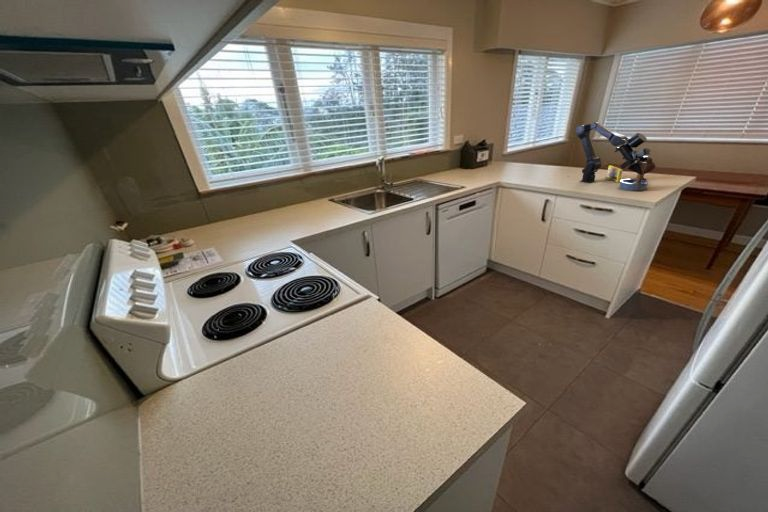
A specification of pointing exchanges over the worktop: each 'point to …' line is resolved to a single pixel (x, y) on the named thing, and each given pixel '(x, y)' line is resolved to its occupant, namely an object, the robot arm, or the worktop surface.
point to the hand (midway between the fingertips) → (643, 173)
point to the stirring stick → (639, 177)
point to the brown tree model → (649, 167)
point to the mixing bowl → (632, 185)
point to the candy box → (614, 173)
